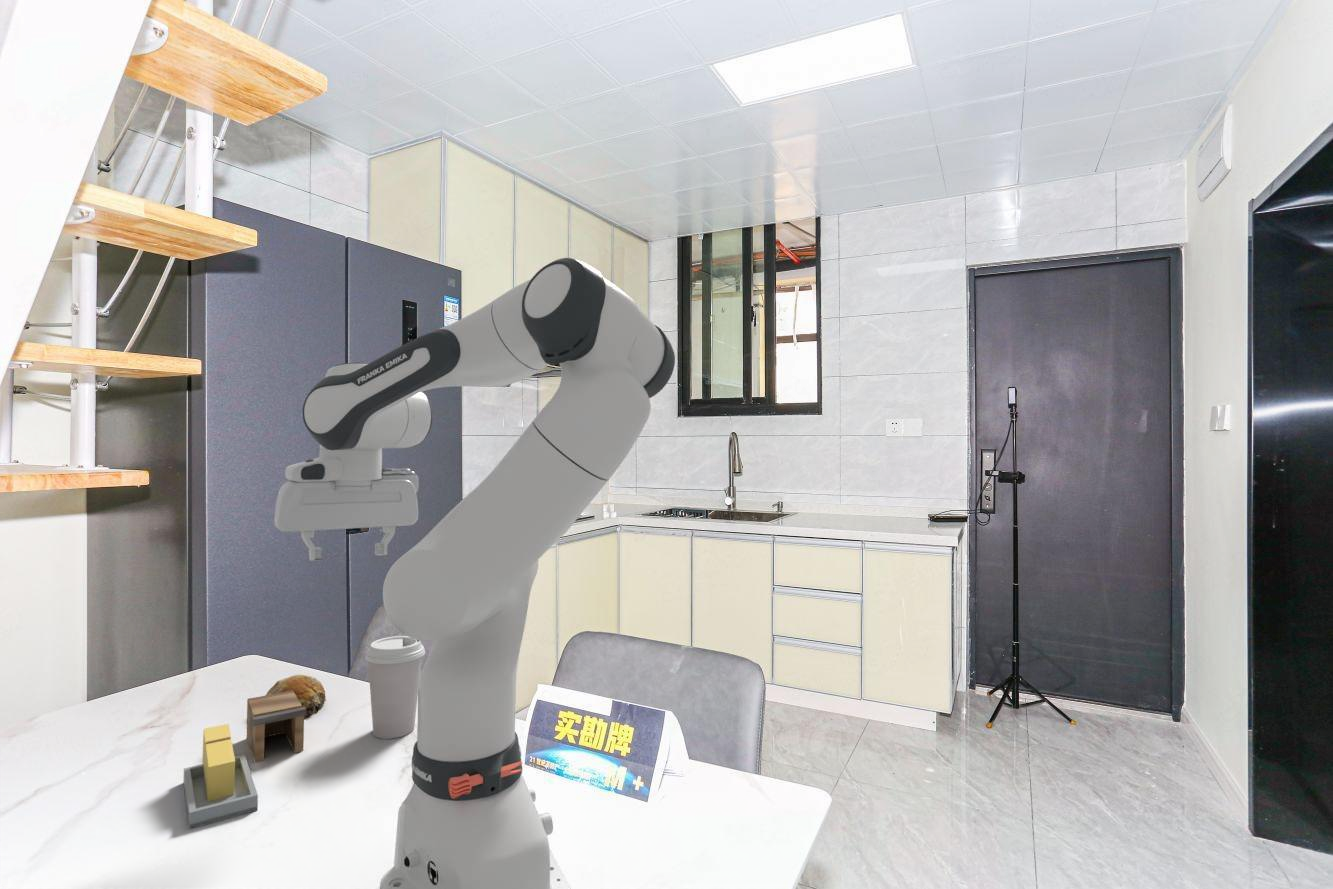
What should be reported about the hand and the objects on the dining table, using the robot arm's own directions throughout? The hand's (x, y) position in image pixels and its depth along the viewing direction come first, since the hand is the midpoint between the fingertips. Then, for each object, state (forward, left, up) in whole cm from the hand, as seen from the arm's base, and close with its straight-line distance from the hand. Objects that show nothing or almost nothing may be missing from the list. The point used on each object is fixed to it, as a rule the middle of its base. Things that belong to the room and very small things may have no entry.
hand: (349, 557), depth 104 cm
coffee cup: (+6, -9, -31) cm, 33 cm away
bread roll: (+25, +3, -32) cm, 40 cm away
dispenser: (+11, +8, -31) cm, 34 cm away
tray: (-2, +16, -31) cm, 35 cm away
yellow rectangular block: (+1, +16, -30) cm, 34 cm away
